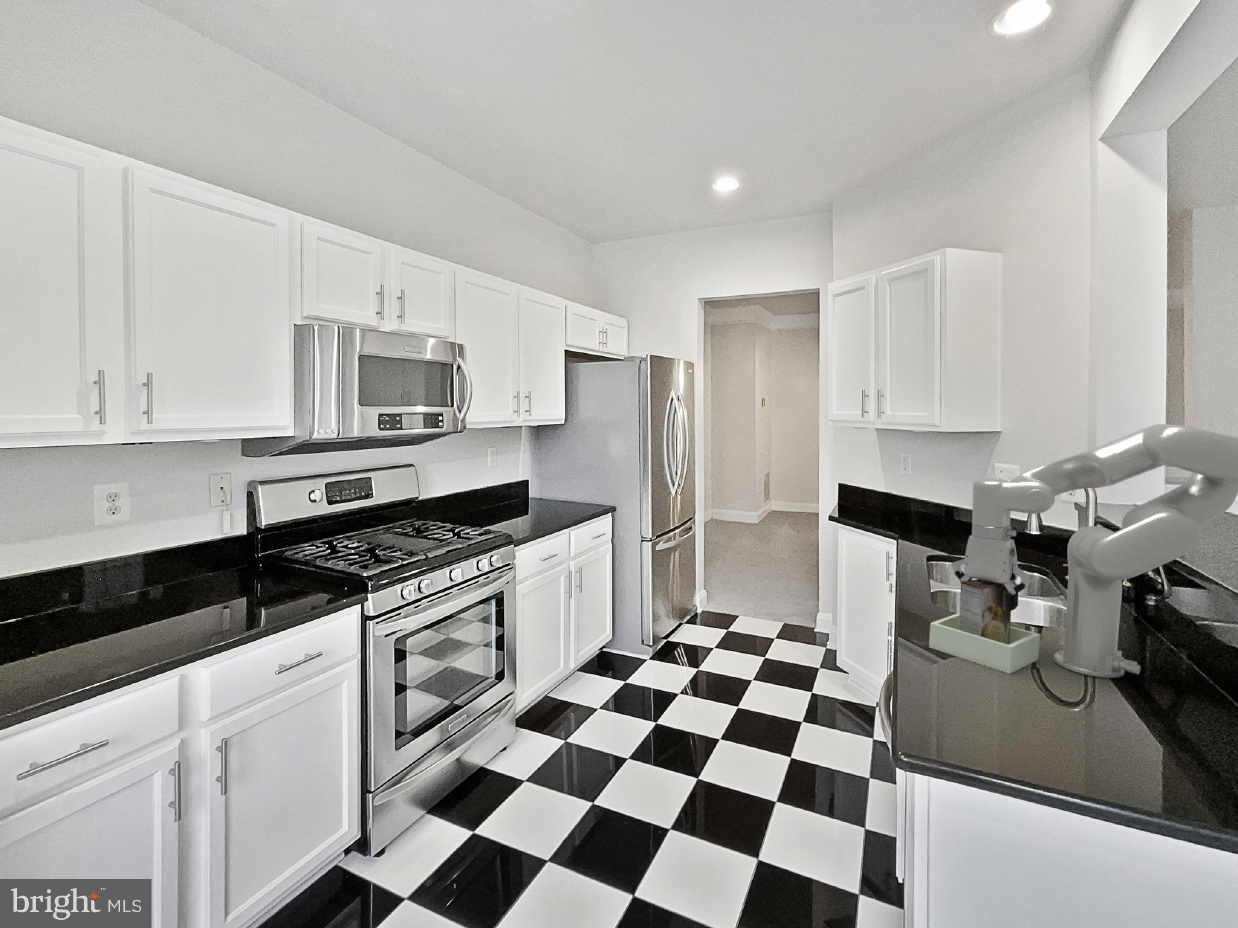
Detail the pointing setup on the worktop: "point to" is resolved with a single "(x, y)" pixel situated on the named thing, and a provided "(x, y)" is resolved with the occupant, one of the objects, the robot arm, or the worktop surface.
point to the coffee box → (985, 610)
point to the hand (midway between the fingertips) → (988, 604)
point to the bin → (985, 645)
